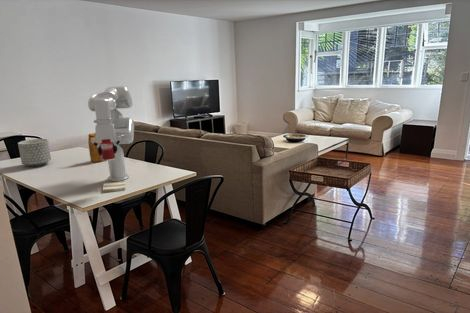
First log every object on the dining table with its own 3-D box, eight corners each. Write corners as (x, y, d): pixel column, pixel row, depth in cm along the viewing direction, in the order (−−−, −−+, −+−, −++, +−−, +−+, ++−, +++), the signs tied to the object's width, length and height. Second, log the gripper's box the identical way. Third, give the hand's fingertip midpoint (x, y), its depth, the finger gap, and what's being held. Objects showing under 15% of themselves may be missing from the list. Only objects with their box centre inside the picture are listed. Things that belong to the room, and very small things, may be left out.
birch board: (104, 185, 195) (103, 183, 195) (125, 183, 199) (124, 181, 198) (102, 192, 184) (102, 190, 184) (125, 189, 188) (125, 187, 187)
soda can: (113, 160, 181) (110, 139, 178) (100, 161, 180) (97, 139, 177) (117, 157, 188) (114, 136, 185) (104, 157, 187) (101, 137, 184)
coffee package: (110, 160, 254) (107, 132, 248) (94, 163, 245) (90, 134, 240) (105, 158, 261) (101, 130, 255) (89, 161, 252) (85, 133, 247)
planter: (35, 169, 233) (30, 144, 229) (16, 167, 240) (11, 143, 235) (57, 162, 251) (53, 139, 246) (39, 161, 257) (35, 138, 253)
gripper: (86, 124, 173) (90, 156, 177) (120, 121, 178) (124, 153, 182) (87, 122, 180) (92, 153, 184) (121, 119, 184) (124, 150, 189)
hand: (108, 153), depth 183 cm, fingers closed on soda can, 7 cm apart
